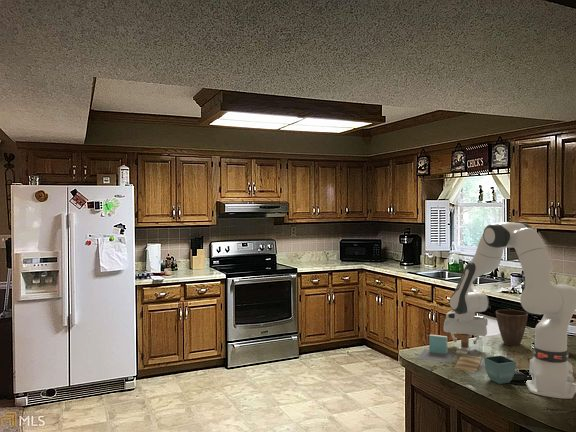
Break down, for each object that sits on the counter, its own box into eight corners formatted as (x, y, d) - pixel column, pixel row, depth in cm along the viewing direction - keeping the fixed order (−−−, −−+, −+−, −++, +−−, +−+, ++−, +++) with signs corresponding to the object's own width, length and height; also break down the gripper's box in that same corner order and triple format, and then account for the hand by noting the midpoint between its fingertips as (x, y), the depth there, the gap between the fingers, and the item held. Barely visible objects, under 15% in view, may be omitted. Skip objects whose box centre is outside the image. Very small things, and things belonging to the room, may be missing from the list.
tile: (446, 354, 232) (446, 337, 232) (429, 352, 236) (429, 335, 236) (447, 353, 234) (447, 336, 234) (430, 350, 238) (430, 334, 238)
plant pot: (490, 343, 252) (490, 312, 252) (504, 338, 262) (504, 308, 262) (519, 349, 241) (519, 317, 241) (533, 344, 251) (533, 312, 250)
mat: (448, 363, 220) (448, 362, 220) (417, 358, 227) (417, 357, 227) (454, 353, 235) (454, 352, 235) (424, 349, 241) (424, 349, 241)
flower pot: (497, 386, 192) (497, 363, 191) (483, 379, 200) (483, 357, 200) (516, 384, 194) (516, 361, 194) (501, 377, 202) (501, 355, 202)
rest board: (476, 372, 208) (476, 370, 208) (454, 368, 213) (454, 367, 213) (482, 359, 226) (482, 357, 226) (461, 356, 230) (461, 354, 230)
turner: (466, 355, 231) (466, 341, 231) (455, 354, 233) (455, 339, 233) (470, 347, 244) (470, 333, 244) (460, 346, 247) (460, 332, 247)
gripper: (488, 315, 242) (488, 343, 242) (445, 311, 251) (445, 338, 251) (486, 318, 236) (486, 347, 236) (442, 314, 245) (442, 341, 246)
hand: (464, 342), depth 244 cm, fingers open, 8 cm apart
